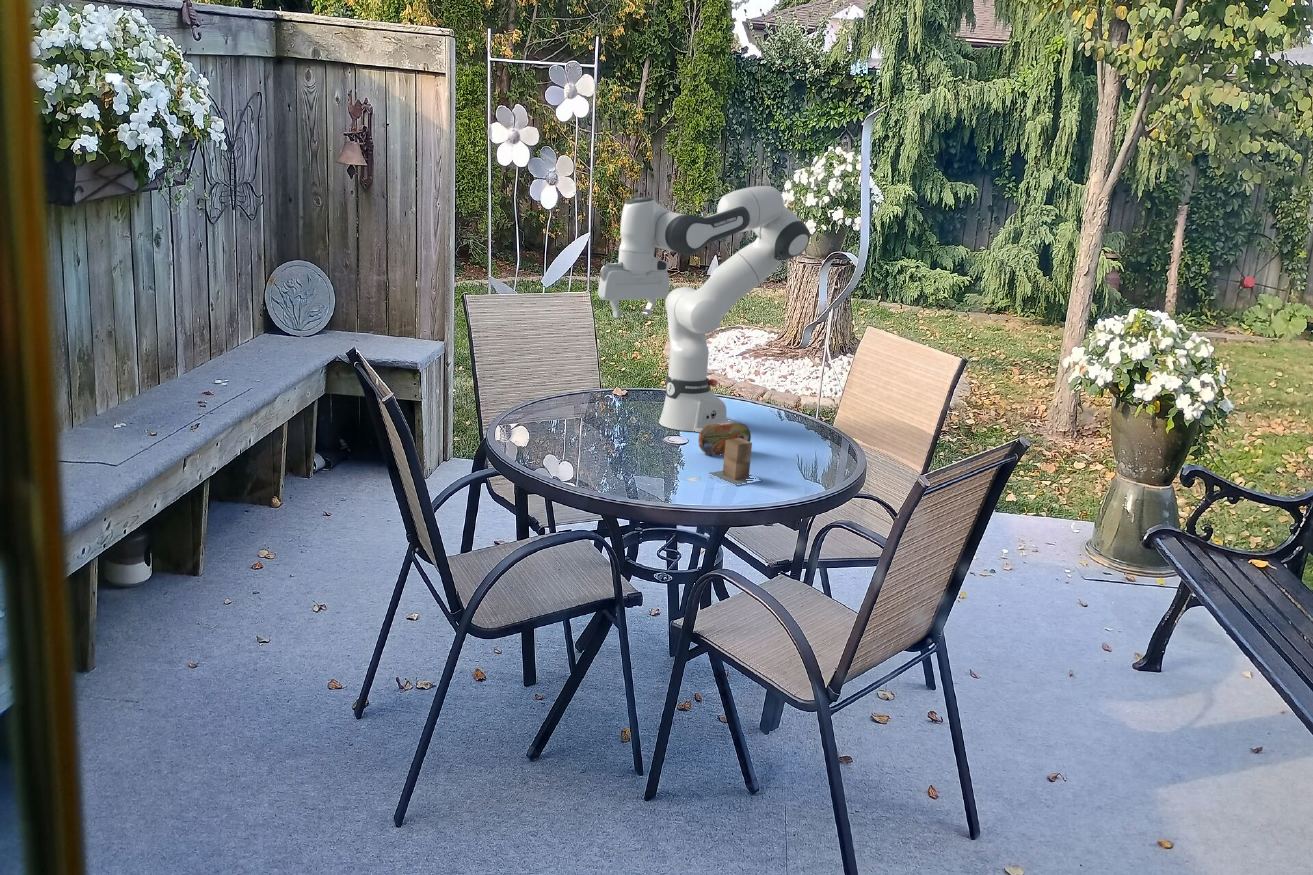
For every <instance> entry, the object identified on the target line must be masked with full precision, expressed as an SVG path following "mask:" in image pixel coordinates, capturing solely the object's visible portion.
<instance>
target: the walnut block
mask: <svg viewBox="0 0 1313 875" xmlns="http://www.w3.org/2000/svg"><path fill="white" fill-rule="evenodd" d="M752 446H753V442H751V441H750V442H749V441H746V440H744V439H741V438H736V439H729V440H726V443H725V453H724V455H723V456H724V457H723V464H722V471H723V475H724V476H727V477H729V478H731V479H733V480H738V479H743V478H749V474H750V469H751V468H750V467H751V456H752V448H753V447H752Z"/></svg>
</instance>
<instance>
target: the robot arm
mask: <svg viewBox="0 0 1313 875" xmlns="http://www.w3.org/2000/svg"><path fill="white" fill-rule="evenodd" d="M620 218H621V219H620V231H619V232H620V245H619V248H618V262H614V263H612V262H606V264H604V265H603V266H602V267H601V269H600V278H599V282H598V289H597V295H598V297H599V299H601V300H603V301H609V305H610V307H611V309H612V317H613V318H615V319H616V318H619V319H620V318H622V314H623V312H622V310H620V309H619V306H618V305H620V301H626V300H627V301H628V300H629V301H630V300H633V301H634V300H646V302H647V304H646V306H645V308H642V315H643V316H644V317H651V316H652V311H653V309H654V307H655V305H656V303H657V299H665V302H664V308H665V312H666V315H667V327H668V328H667V329H668V338H669V339H668V340H669V359H668V360H669V361H668V374H667V375H666V380H665V399H664V402H663V408H662V411H661V414H660V417H659V420H658V424H660V426H662V427H665V428H668V429H671V430H675V431H676V430H677V431H684V432H694V431H695V432H697V433H700V432H701V431H702V429H703V428H704V427H706V426H707V425H710V424H720V423H732V422H734V421H733V420H732V419H731V418H729V417H727V415H728V414H727V407H726V404H725V402H724V401H723V400H722V399H721V398H720V397H718V396H717V395H716V394H715V393H714V392H713V391H712V390H711V386H712V387H714V388H715V387H717V385H718V384H719V383H718V380H717V379H713V378H710V379H709V378H708V377H707V376H708V365H709V354H710V353H709V348H708V344H707V337H706V334H710V333H713V332H715V331H716V330H718V328H719V327H720V325H721V323H722V321H723V318H724V317H725V316H726V315H727V313H728V312H730V310H731V308H733V307H734V305H736V303H738V302H739V300H741V299H742V298H744V297H745V296H746V295H747V294H748V293H750V292H752V290H754V289H755V288H757V287H758V286H759V285H761V284H762V283H763V282H764V281H765V280H766V279H768V278H769V277H770V276H771V275H772V274H773V273H774V272H775V271H776V270H777V268H778V267H779V266H780V265H781V264H782V262H784V261H786V260H790V259H792V258H796V257H797V256H799V255H800V254H802V253H803V252H804V251H805V250H806V249H807V247H808V245H809V242H810V239H811V232H810V229H809V228H808V226H807V225H806V223H804V222H803V221H802V220H800V218H799V217H798V216H797V215H796V214H795V213H794V212H793V211H792V210H791V209H789V208H787V207H786V206H785V201H784V198H783V195H782V192H780V191H779V189H778V188H776V187H774V186H772V185H771V186H769V185H758V186H749V187H743V188H741V189H740V188H739V189H737V190H734V191H730V192H728V193H726V194H724V195H722V197H721V198H720V199H719V201H718V204H717V207H716V212H715V213H714V214H710V215H707V216H704V217H702V216H698V215H695V214H685V213H679V212H674V211H670V210H668V208H667V209H666V208H665V207H663V206H661V205H660V204H659V203H658V202H656V200H655V198H653V197H649V196H636V197H632V198H629V199H628V200H626V201H625V203H624V205H623V207H622V212H621V217H620ZM748 231H753V233H755V235H756V236H757V237H756V238H755V240H754V241H753V242H751V243H749V244H747V245H746V246H744V247H742V248H741V249H739V250H738V251H736V252H735V253H734V254H732V256H730V257H729V258H728V259H726V260H725V261H724V262H722V263H721V264H720V265H718V266H716V268H714V269H713V270H712V272H711V274H710V276H709V277H708V279H707V280H706V281H705V282H704V284H702V285H701V286H700V287H699V288H697V289H695V288H692V287H690V286H682V287H676V288H674V289H673V290H671V291H670V275H669V272H668V271H669V268H670V263H669V262H668V261H665V260H664V259H663V260H662V259H660V258H658V257H656V256H654V254H655V248H658V249H661V250H665V251H669V252H673V253H677V254H679V255H682V256H685V257H689V256H690V257H691V256H693V255H696V254H698V253H699V252H700V251H702V250H703V249H704V248H705V247H706V246H708V245H709V244H711V243H713V242H715V241H718V240H720V239H723V238H726V237H729V236H732V235H734V234H738V233H745V232H748ZM728 420H730V421H728ZM695 432H694V433H695Z"/></svg>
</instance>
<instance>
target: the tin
mask: <svg viewBox="0 0 1313 875" xmlns="http://www.w3.org/2000/svg"><path fill="white" fill-rule="evenodd" d="M751 436H752V435H751V431H750V429H749V427H748V425H747V426H746V424H743V423H740V422H735V421H733V422H732V423H720V424H710V425H707V426H706V427H704V428H703V429H702V431H701V432H699V435H698V446H699V449H700V450H701V451H702V452H703V453H705V454H706V455H708V456H710V455H717V456H723V455H722V454H724V453H725V443H726V440H729V439H736V438H741V439H744V440H746V441H749V442H751V438H752V437H751ZM720 454H721V455H720Z"/></svg>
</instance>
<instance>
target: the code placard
mask: <svg viewBox="0 0 1313 875" xmlns="http://www.w3.org/2000/svg"><path fill="white" fill-rule="evenodd" d="M697 477H698V476H697ZM697 477H696V476H695V477H690V478H689V477H688V478H686V480H687V481H689V482H691V481H697V480H694V479H701V478H697Z"/></svg>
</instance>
